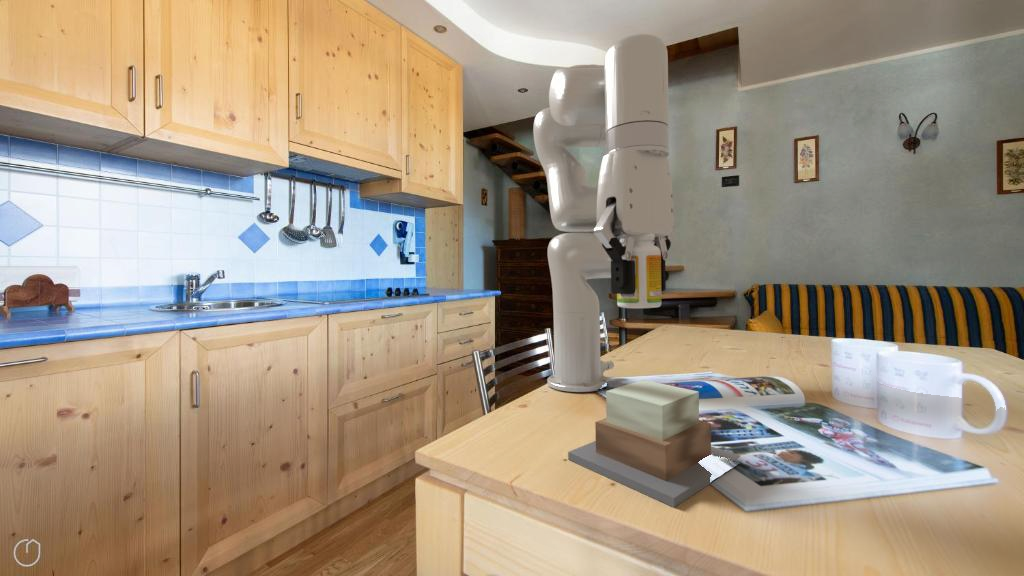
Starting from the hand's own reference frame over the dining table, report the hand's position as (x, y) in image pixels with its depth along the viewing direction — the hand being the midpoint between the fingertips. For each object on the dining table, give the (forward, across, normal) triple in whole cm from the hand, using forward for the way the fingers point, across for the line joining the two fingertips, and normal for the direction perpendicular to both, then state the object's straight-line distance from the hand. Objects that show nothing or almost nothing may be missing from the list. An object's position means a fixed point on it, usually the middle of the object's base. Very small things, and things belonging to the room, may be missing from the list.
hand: (638, 290), depth 55 cm
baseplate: (+22, -1, +1) cm, 22 cm away
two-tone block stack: (+22, -1, +1) cm, 22 cm away
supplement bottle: (+2, 0, 0) cm, 2 cm away
